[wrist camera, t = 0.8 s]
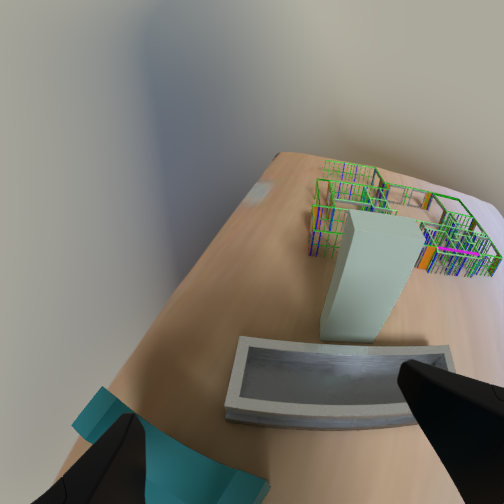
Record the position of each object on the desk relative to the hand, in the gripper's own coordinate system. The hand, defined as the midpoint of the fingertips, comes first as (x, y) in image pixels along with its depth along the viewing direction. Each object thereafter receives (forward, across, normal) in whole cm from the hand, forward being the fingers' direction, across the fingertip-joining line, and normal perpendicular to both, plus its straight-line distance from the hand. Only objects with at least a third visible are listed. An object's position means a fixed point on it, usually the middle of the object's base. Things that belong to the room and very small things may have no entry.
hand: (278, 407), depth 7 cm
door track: (+11, -9, +13) cm, 19 cm away
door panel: (+17, -11, +10) cm, 23 cm away
